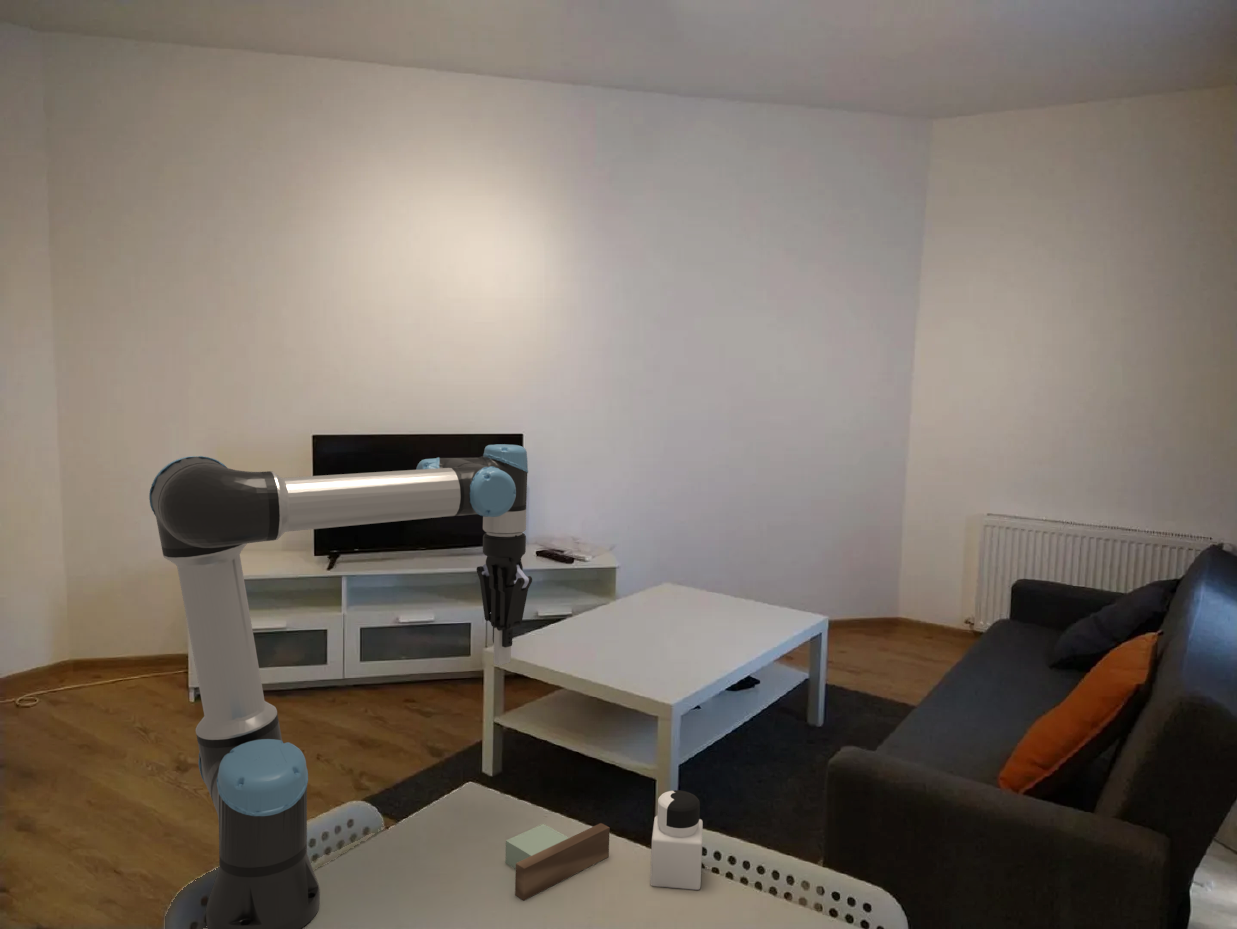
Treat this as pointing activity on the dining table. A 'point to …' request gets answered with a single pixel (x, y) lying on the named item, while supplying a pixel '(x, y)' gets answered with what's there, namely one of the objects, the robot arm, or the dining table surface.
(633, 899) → the dining table surface
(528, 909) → the dining table surface
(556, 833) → the block
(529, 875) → the board
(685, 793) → the container
